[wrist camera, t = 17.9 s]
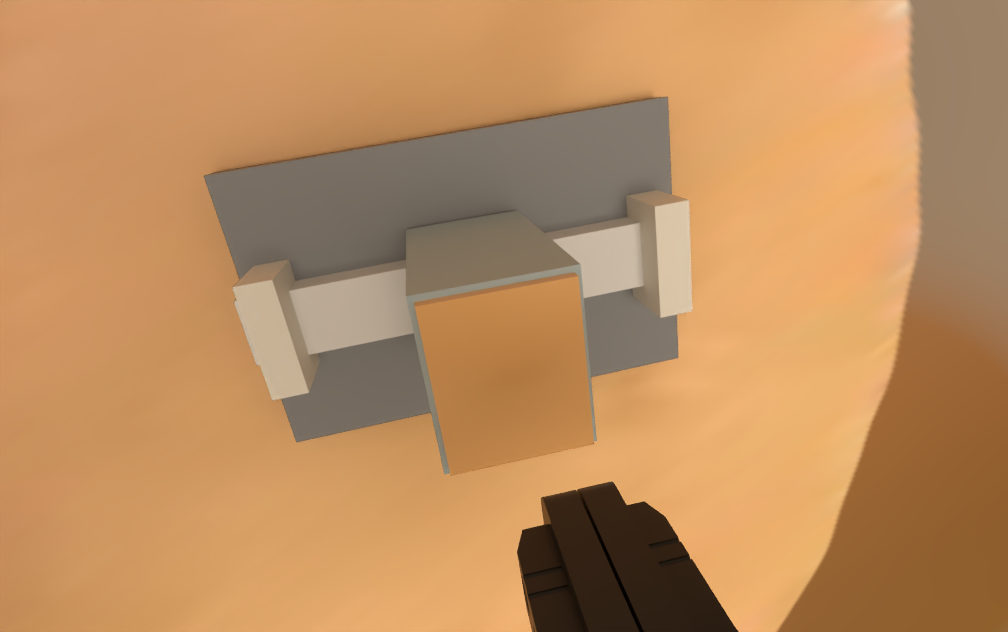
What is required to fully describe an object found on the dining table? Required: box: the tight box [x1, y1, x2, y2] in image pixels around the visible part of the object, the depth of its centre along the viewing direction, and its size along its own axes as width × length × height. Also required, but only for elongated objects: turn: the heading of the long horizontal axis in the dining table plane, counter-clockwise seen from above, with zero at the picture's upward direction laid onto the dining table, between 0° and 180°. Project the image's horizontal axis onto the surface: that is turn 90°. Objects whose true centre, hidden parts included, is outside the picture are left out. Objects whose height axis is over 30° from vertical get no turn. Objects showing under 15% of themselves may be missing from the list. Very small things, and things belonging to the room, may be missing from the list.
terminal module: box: [406, 210, 597, 475], centre depth 21 cm, size 5×6×10 cm
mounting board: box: [204, 97, 692, 442], centre depth 25 cm, size 20×13×5 cm, turn 99°
